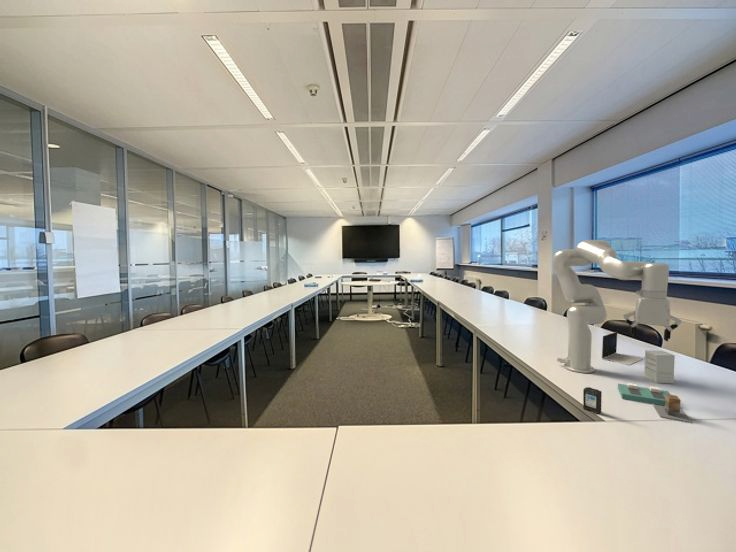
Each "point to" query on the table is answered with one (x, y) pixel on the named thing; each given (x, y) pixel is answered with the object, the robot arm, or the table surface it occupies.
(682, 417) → the mat
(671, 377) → the supplement box
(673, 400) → the brown cardboard box
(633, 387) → the switch tab left
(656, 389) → the switch tab right
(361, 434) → the table surface
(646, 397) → the switch panel
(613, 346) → the laptop
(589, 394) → the ink cartridge
